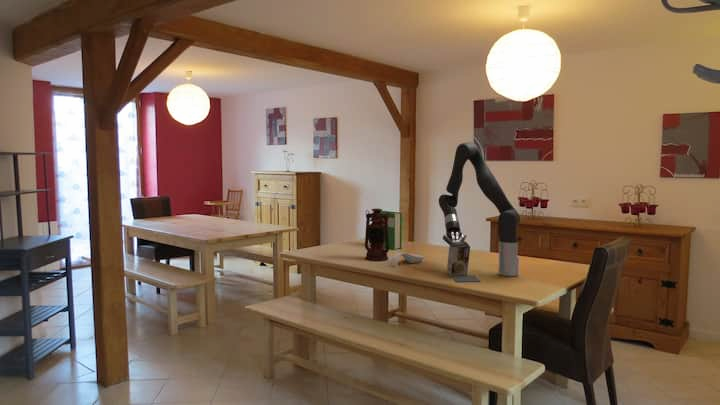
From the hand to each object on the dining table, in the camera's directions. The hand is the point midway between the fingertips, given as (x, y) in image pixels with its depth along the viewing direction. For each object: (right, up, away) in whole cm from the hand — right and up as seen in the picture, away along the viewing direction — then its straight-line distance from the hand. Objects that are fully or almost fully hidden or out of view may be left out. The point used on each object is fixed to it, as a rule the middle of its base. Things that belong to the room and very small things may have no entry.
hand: (456, 250), depth 259 cm
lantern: (-40, -9, +38) cm, 56 cm away
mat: (+2, -13, -11) cm, 17 cm away
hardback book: (-32, -5, +75) cm, 82 cm away
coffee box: (0, -11, 0) cm, 11 cm away
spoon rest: (-23, -10, +26) cm, 36 cm away
